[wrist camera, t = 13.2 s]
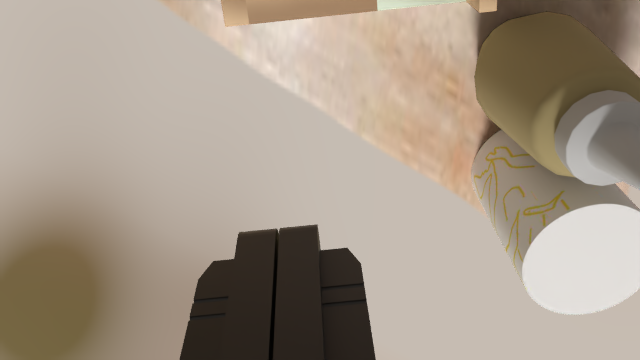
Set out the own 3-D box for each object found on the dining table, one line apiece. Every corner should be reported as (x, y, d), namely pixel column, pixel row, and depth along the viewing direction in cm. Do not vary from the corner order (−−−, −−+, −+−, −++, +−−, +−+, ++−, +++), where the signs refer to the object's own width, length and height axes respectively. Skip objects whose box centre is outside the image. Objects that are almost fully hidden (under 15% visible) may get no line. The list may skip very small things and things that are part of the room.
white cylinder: (494, 110, 44) (556, 191, 33) (594, 132, 45) (685, 218, 34) (456, 203, 48) (501, 303, 37) (550, 222, 49) (620, 323, 38)
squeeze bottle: (479, 128, 44) (579, 279, 29) (445, 28, 41) (539, 140, 25) (586, 84, 43) (754, 219, 27) (562, -22, 39) (739, 62, 24)
